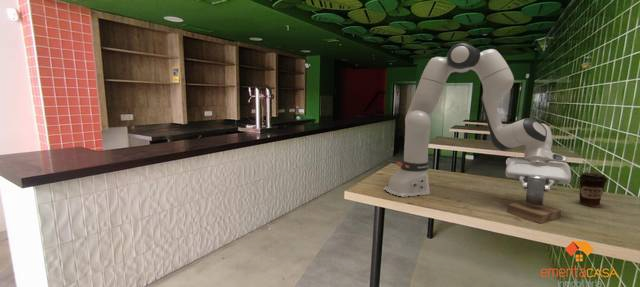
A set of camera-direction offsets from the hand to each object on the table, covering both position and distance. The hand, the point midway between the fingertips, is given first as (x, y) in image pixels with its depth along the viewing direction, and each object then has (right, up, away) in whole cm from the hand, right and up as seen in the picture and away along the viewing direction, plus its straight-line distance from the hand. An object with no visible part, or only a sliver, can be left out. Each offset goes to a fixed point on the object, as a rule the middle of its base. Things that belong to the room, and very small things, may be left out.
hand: (535, 189), depth 109 cm
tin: (0, -5, +1) cm, 5 cm away
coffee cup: (+31, -8, +12) cm, 34 cm away
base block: (0, -10, +2) cm, 10 cm away
